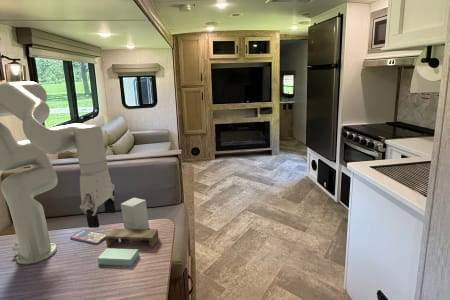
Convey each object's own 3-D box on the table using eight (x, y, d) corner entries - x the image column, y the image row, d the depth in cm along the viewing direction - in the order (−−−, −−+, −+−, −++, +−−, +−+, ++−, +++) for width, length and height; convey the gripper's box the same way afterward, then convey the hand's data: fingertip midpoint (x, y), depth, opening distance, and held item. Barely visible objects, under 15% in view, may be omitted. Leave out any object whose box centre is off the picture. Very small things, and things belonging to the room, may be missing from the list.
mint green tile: (98, 264, 101) (97, 258, 100) (107, 254, 107) (106, 248, 106) (131, 265, 99) (130, 259, 99) (139, 255, 105) (138, 249, 104)
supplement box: (149, 227, 125) (146, 199, 122) (136, 235, 119) (132, 206, 116) (137, 223, 129) (134, 196, 126) (124, 231, 122) (119, 203, 120)
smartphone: (83, 231, 126) (111, 236, 120) (69, 239, 119) (97, 245, 113) (83, 229, 125) (110, 234, 120) (68, 237, 119) (97, 243, 113)
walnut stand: (107, 246, 112) (105, 236, 111) (114, 237, 118) (113, 228, 117) (152, 247, 109) (151, 237, 108) (158, 239, 115) (157, 229, 114)
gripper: (98, 159, 96) (105, 207, 100) (63, 176, 80) (74, 233, 84) (119, 158, 95) (126, 207, 99) (88, 176, 78) (98, 234, 82)
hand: (102, 219), depth 91 cm, fingers open, 9 cm apart
